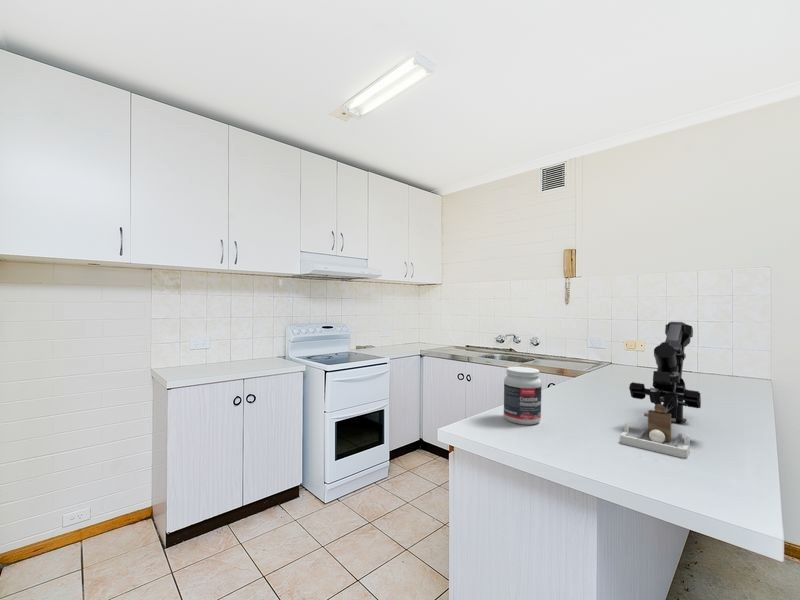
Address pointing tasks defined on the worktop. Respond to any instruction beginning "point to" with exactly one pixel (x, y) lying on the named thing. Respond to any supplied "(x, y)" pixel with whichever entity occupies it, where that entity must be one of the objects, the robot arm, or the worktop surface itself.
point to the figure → (660, 421)
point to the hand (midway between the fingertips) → (660, 416)
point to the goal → (655, 444)
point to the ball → (657, 436)
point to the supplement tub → (522, 395)
